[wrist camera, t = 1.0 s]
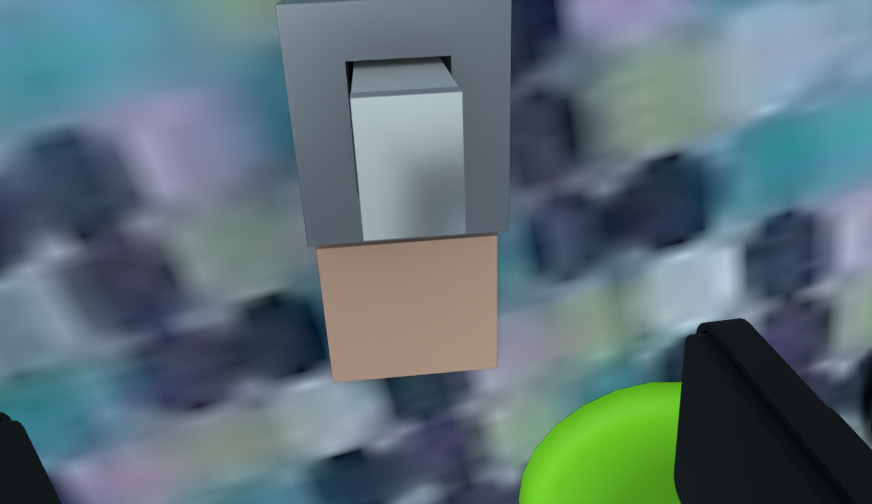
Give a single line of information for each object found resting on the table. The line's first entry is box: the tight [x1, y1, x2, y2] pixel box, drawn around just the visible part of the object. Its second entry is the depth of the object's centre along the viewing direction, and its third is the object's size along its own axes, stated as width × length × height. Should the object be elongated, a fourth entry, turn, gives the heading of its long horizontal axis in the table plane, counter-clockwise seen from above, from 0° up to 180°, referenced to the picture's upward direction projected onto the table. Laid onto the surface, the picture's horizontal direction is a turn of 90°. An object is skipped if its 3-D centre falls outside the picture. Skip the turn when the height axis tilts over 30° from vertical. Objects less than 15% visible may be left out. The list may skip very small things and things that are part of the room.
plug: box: [350, 56, 466, 241], centre depth 26 cm, size 5×4×9 cm
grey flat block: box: [275, 0, 511, 246], centre depth 29 cm, size 10×9×4 cm
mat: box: [316, 232, 497, 383], centre depth 35 cm, size 8×9×1 cm
